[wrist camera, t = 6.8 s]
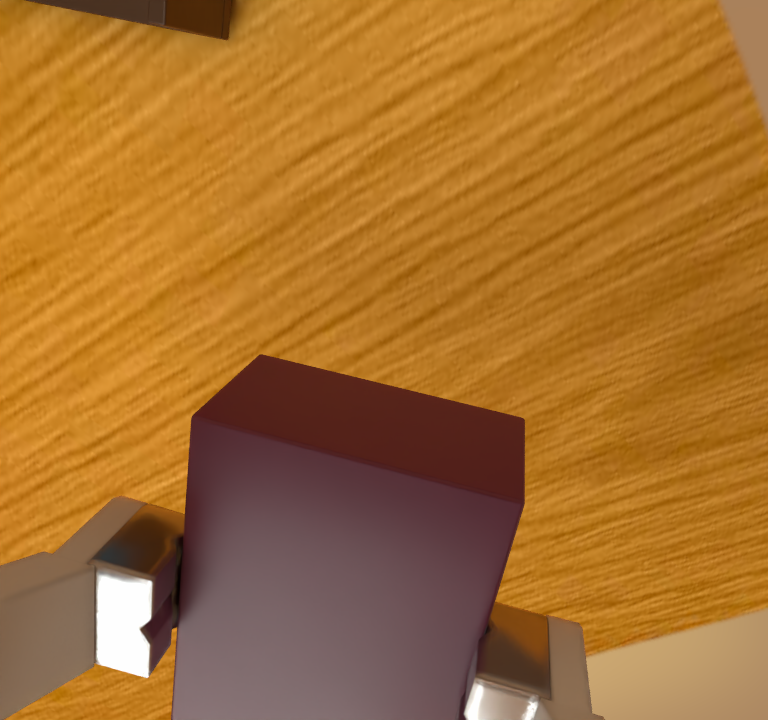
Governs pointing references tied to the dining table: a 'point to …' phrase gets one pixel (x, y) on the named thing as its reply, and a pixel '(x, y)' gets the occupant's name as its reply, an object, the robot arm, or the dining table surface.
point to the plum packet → (339, 547)
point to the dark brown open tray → (161, 13)
